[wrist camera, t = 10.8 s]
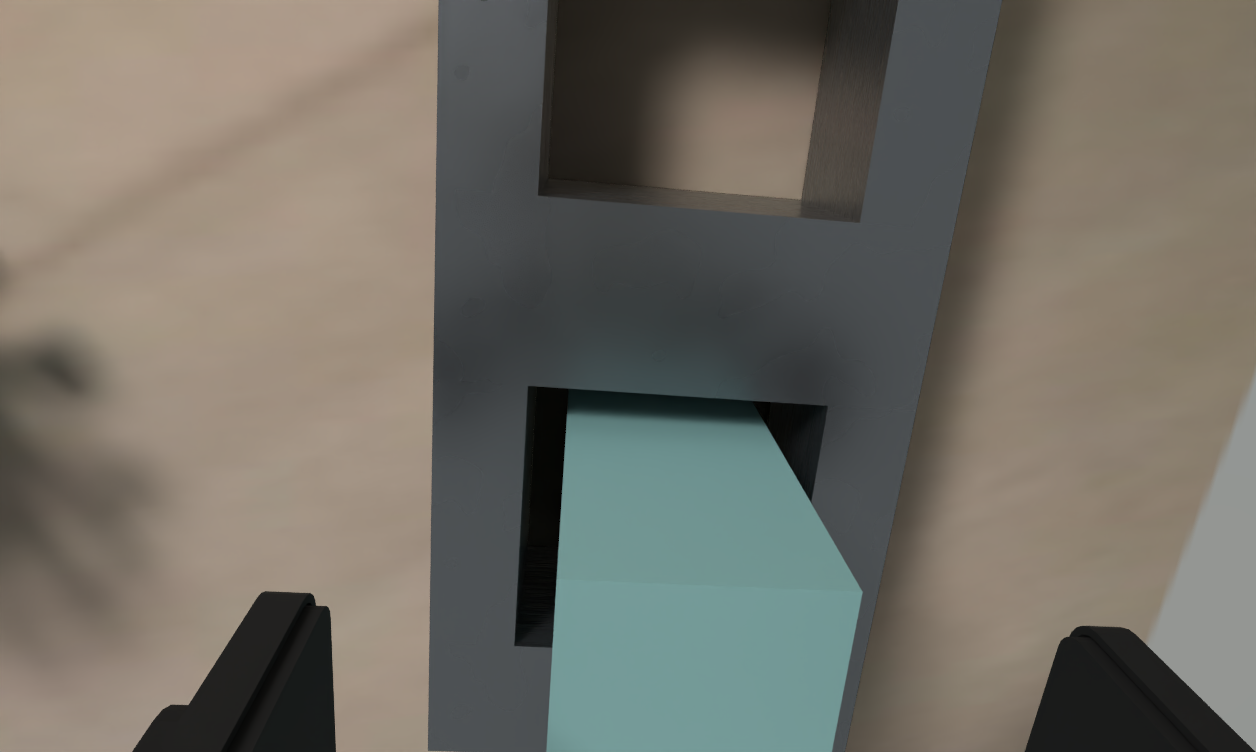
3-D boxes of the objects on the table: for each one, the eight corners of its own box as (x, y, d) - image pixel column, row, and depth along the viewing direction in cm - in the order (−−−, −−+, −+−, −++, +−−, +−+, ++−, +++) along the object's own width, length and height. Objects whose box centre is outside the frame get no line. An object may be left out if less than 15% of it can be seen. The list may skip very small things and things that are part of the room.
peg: (570, 368, 19) (556, 579, 10) (738, 378, 19) (863, 592, 11) (560, 521, 20) (542, 824, 11) (719, 528, 20) (816, 828, 12)
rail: (481, -293, 15) (445, -433, 11) (954, -232, 15) (1074, -346, 12) (457, 634, 21) (427, 750, 17) (796, 649, 21) (842, 764, 18)
